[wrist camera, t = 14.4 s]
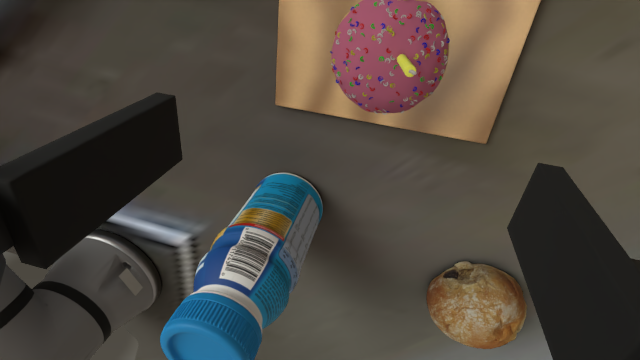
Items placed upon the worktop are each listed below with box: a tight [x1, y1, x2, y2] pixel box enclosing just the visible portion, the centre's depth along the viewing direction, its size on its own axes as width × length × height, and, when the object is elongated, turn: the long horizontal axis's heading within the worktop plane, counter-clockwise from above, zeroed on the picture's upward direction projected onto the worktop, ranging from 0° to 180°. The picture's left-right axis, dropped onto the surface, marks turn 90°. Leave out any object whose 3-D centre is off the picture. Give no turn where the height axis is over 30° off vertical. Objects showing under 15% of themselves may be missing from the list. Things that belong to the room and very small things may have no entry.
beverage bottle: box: [160, 173, 323, 360], centre depth 33 cm, size 8×8×20 cm
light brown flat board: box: [275, 0, 541, 144], centre depth 30 cm, size 20×14×1 cm
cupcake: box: [330, 0, 450, 115], centre depth 25 cm, size 9×8×12 cm
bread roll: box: [427, 261, 527, 349], centre depth 40 cm, size 10×10×8 cm
